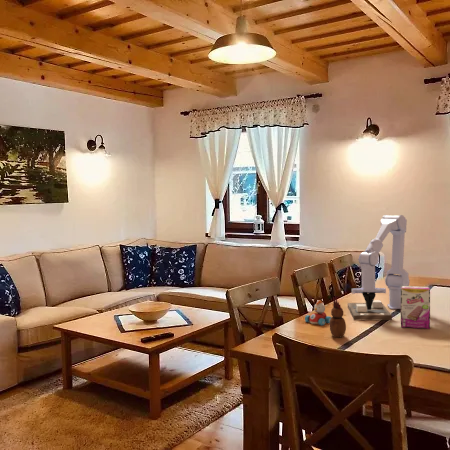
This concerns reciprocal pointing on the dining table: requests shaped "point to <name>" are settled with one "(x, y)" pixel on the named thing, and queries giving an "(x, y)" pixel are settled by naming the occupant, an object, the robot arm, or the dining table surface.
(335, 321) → the wooden figurine
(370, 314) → the switch panel
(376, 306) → the tab
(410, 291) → the candy bar box
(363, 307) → the tab
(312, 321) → the toy car
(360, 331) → the dining table surface
